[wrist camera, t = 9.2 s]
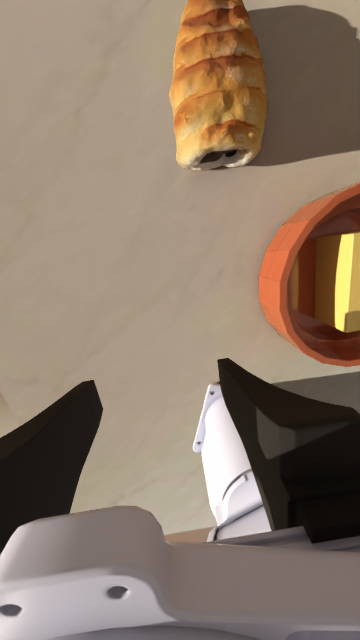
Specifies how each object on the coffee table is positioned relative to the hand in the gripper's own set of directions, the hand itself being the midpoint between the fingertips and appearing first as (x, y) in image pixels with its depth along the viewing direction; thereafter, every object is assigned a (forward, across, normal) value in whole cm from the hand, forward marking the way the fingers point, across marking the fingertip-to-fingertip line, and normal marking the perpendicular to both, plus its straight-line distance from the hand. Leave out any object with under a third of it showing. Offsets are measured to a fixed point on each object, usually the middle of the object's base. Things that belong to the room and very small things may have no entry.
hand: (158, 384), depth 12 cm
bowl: (+9, -17, -2) cm, 19 cm away
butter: (+9, -17, -2) cm, 19 cm away
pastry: (+10, -7, -16) cm, 20 cm away
